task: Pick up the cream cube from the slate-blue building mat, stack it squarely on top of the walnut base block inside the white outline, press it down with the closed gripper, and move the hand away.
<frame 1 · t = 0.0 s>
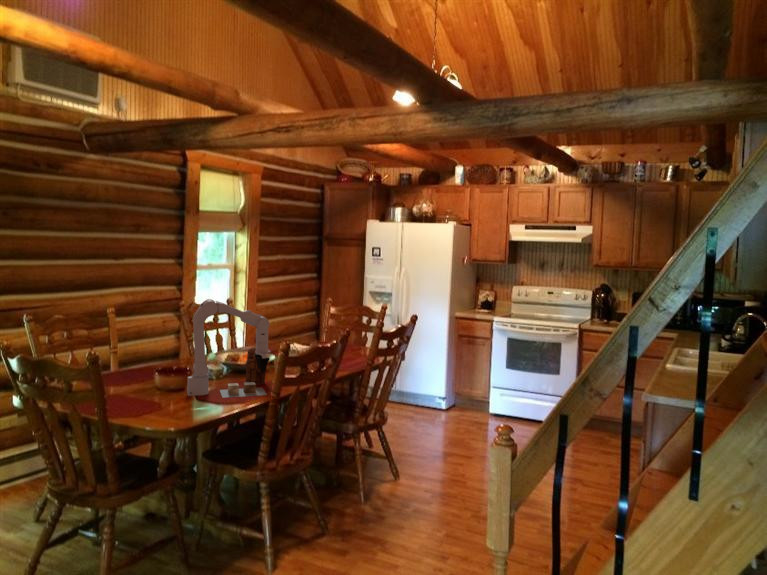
hand: (261, 370, 295), 10 cm above the table, tool pointing down, fingers open, 7 cm apart
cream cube: (233, 392, 288), point 1 cm above the table, touching building mat
wooden figurine: (254, 384, 310), on the table
walnut base block: (249, 392, 291), point 1 cm above the table, touching building mat
building mat: (243, 394, 290), on the table
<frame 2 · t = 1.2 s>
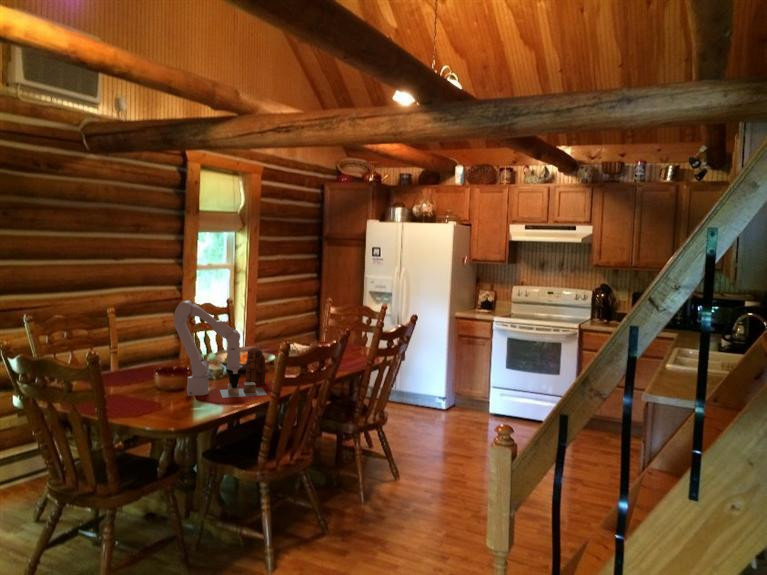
hand: (233, 385, 288), 4 cm above the table, tool pointing down, fingers open, 7 cm apart
nothing on the table moved.
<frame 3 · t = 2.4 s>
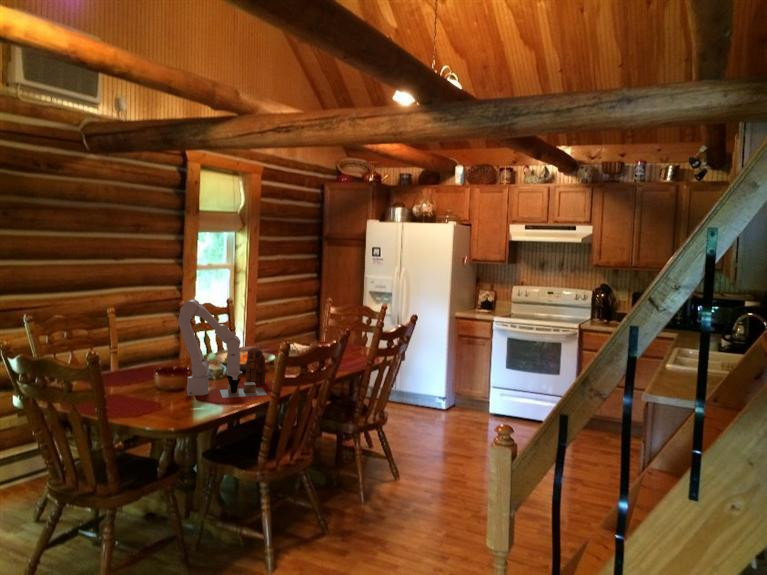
hand: (233, 391, 288), 1 cm above the table, tool pointing down, fingers closed on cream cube, 4 cm apart
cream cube: (233, 392, 288), point 1 cm above the table, touching building mat, gripper
everything else where it was.
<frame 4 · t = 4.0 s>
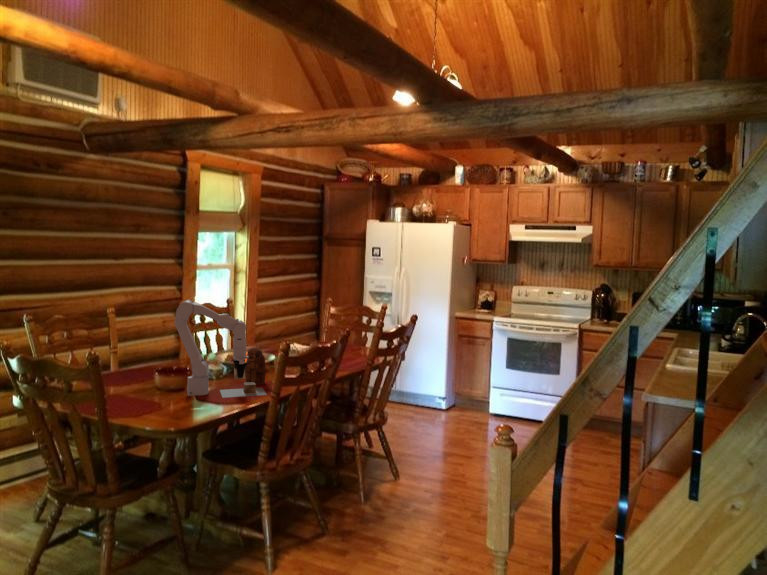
hand: (239, 376, 289), 9 cm above the table, tool pointing down, fingers closed on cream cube, 4 cm apart
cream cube: (239, 377, 289), point 8 cm above the table, touching gripper
everything else where it was.
when the fingers open (6 cm above the table, at t = 5.6 s): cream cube stays where it is, resting on walnut base block.
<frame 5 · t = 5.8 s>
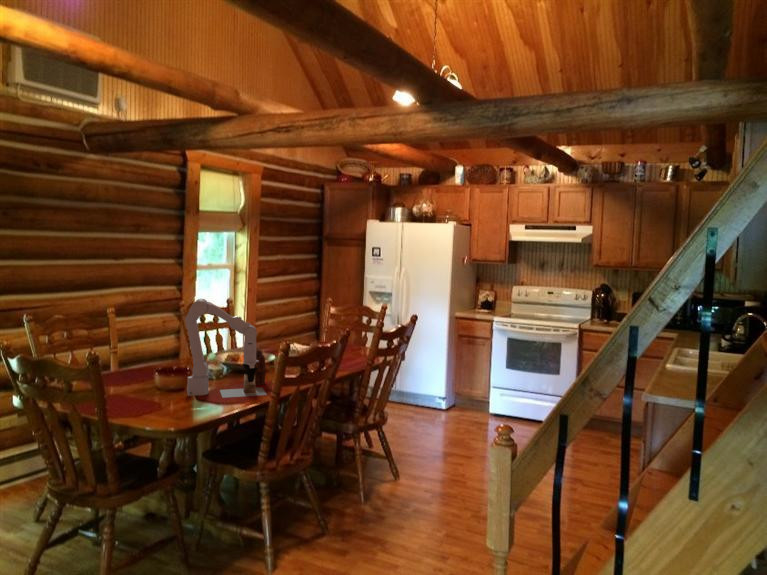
hand: (249, 380, 291), 6 cm above the table, tool pointing down, fingers open, 6 cm apart
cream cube: (249, 383, 291), point 5 cm above the table, touching walnut base block
walnut base block: (249, 392, 291), point 1 cm above the table, touching building mat, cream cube
everything else where it was.
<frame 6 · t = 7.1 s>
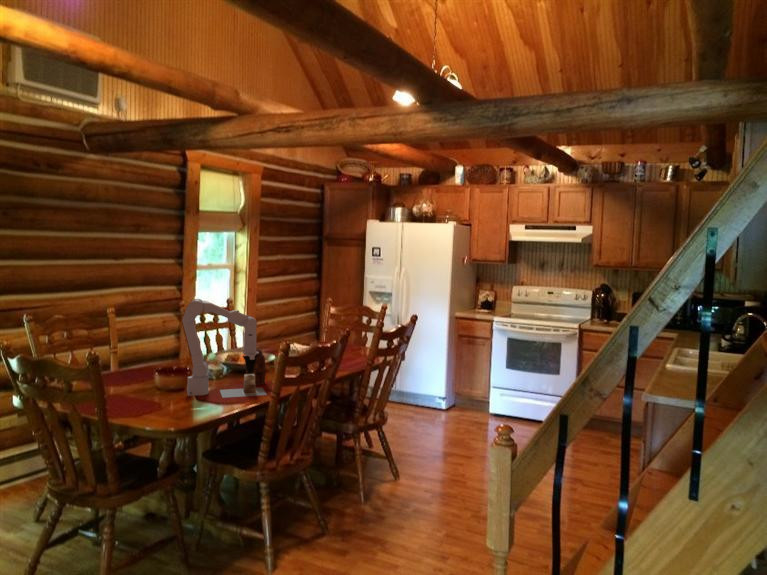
hand: (249, 371, 290), 10 cm above the table, tool pointing down, fingers open, 3 cm apart
nothing on the table moved.
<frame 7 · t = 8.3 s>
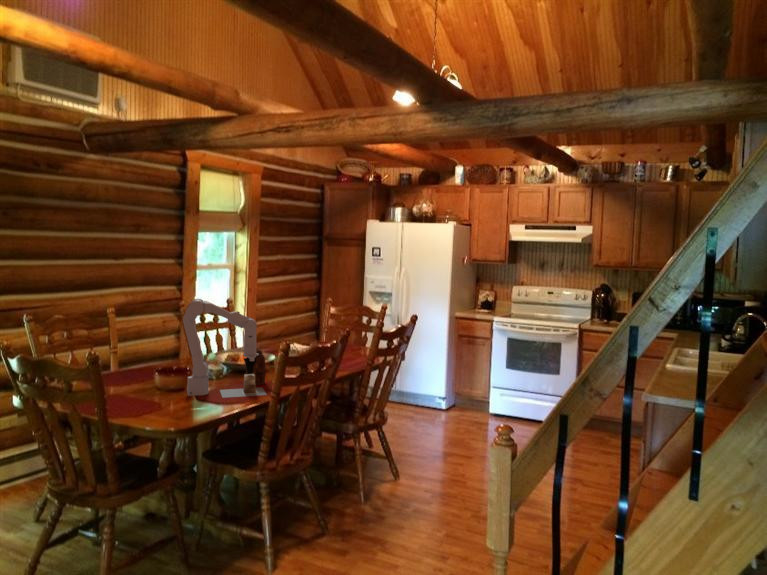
hand: (249, 373, 290), 10 cm above the table, tool pointing down, fingers closed
nothing on the table moved.
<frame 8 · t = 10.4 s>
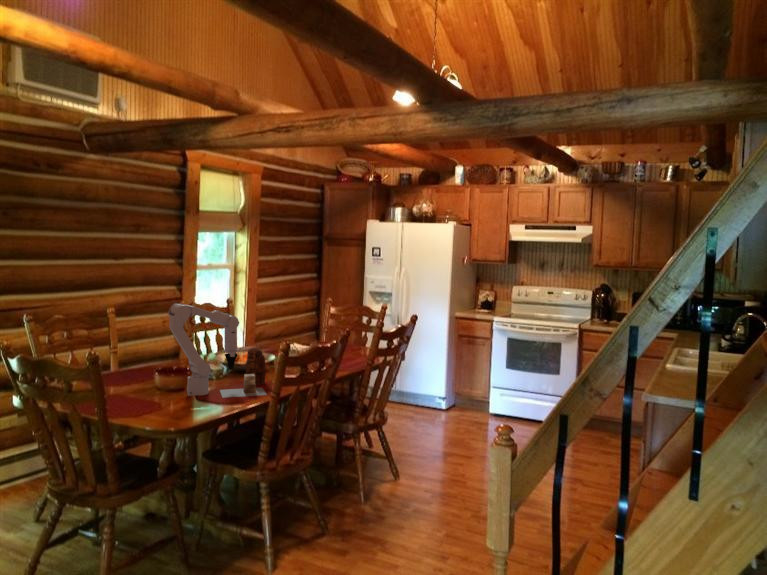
hand: (230, 368, 295), 10 cm above the table, tool pointing down, fingers closed
nothing on the table moved.
at the end: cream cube 0.1 cm off-centre on the walnut base block, point 4.0 cm above the walnut base block's base; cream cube tilted 0°; walnut base block moved 0.0 cm from its start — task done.
